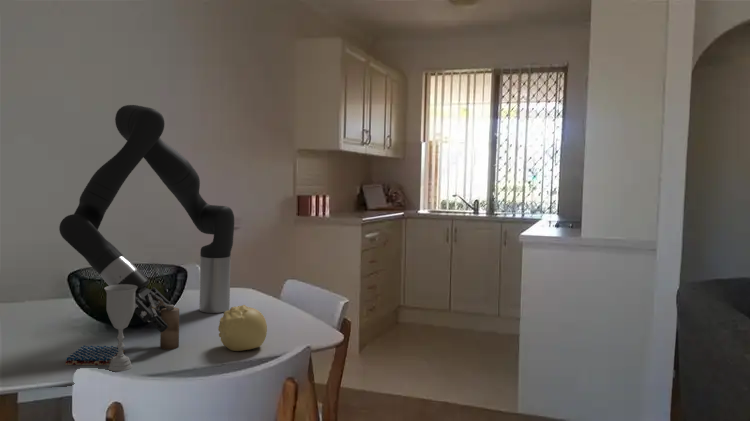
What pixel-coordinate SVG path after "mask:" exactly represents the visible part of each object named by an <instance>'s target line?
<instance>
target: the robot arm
mask: <svg viewBox="0 0 750 421" xmlns="http://www.w3.org/2000/svg"><path fill="white" fill-rule="evenodd" d="M114 122H115V127H116V130H117V131H118V133H119V134H120V135H121V136H122V137H123V139H124V140H126V142H125V144H124V145H123V147H121V149H120V150H118V152H117V153H116V154H115V155H114V156H113V157H111V158H110V159H108V160H107V161H106V162H105V163H103V165H101V166H100V167H99V168H98V169H97V170H96V171H95V172H94V174H93V175H92V176H91V178H90V180H89V182H88V183H87V184H86V186H85V188H84V189H83V190H82V192H81V194H80V197H79V200H78V201H79V203H78V206H77V208H76V210H75V211H74V213H73V214H68V215H66V216H65V217H64V218H62V220H61V221H60V222H59V223H60V224H59V226H58V228H59V230H58V231H59V233H60V236H61V237H62V239H63V240H64V241H65V242H66V243H67V244H69V245H70V246H71V247H72V248H73V249H74V250H75V251H77V253H79V254H80V256H82V257H83V258H84V259H85V260H86V261H87V263H88V264H89V265H90V266H91V267H92V268H93V270H94V271H96V273H97V274H99V275H100V276H101V278H102V279H103V281H104V282H105V283H106V284H107V285H108V286H111V285H120V284H129V285H136V286H138V287H137V289H136V291H135V310H134V313H135V314H136V315H137V317H139V319H141V321H142V322H143V323H147V322H148V323H151V324H152V325H153V326H154V327H155V328H156V329H157V330H158V331H159V332H164V331H165V330H166V329H167V328H168V325H167V324H166V323H165V322H164V321H163V320H162V319H161V316H160V315H158V313H157V312H159V313H161V309H163V308H166V305H171V302H170V301H169V300H168V299H167V298H166V297H165V296H164V295H163V294H162V293H161V292H160V291H159V290H158V289H157V288H156V287H155V286H154V287H152V288H151V289H149V288H148V287H147V286H148V285H149V284H150V279H149V278H147V276H146V275H145V274H144V273H142V271H141V270H139V269H138V268H137V267H136V265H135V264H134V263H133V262H132V261H131V260H129V259H128V258H127V257H126V256H124V255H123V253H122V252H121V251H119V250H118V248H116V246H115V245H114V244H112V243H111V242H110V241H109V240H107V238H105V237H104V236H103V234H102V233H100V231H99V228H100V226H101V223H102V221H103V219H104V216H105V214H106V212H107V210H108V209H109V207H110V206H111V204H112V203H113V201H114V199H115V198H116V196H117V194H118V193H119V191H120V189H121V187H122V186H123V184H124V183H125V181H126V180H127V178H128V177H129V176H130V174H131V173H132V172H133V171H134V169H135V168H136V167H137V166H138V165H139V163H140V162H141V161H142V159H143V158H144V160H145V161H146V162H147V164H148V165H149V166H150V167H151V169H152V170H153V171H154V173H155V174H156V175H157V176H158V178H159V179H160V181H162V184H164V185H165V186H166V188H167V189H168V190H169V191H170V192H171V194H173V196H174V197H175V198H176V200H177V201H178V202H179V203H180V204H181V206H182V207H183V209H184V210H185V212H186V213H187V215H188V216H189V218H190V219H191V221H192V222H193V224H194V225H195V227H196V228H197V229H198V231H199V232H201V233H203V234H206V235H213V240H212V241H211V243H209V244H207V245H204V246H202V247H200V255H199V256H200V258H199V259H200V261H199V264H200V265H199V266H200V267H199V268H200V269H199V311H200V312H202V313H207V314H210V313H211V314H217V313H218V314H219V313H224V312H225V311H228V310H230V300H231V298H230V296H231V256H232V255H231V254H232V253H231V252H232V249H233V244H234V234H235V231H234V230H235V214H234V212H233V209H232V208H231V207H229V206H226V205H215V204H214V205H213V204H209V203H207V201H205V199H204V198H203V196H202V195H201V194H200V186H201V185H200V184H201V180H200V176H199V174H198V172H197V171H196V169H195V168H194V167H193V165H192V164H191V163H190V162H189V160H188V159H187V158H186V157H185V156H184V155H182V154H181V153H180V152H179V151H178V150H176V148H174V147H172V146H171V145H169V144H168V143H167V142H166V141H164V140H163V139H162V138H161V136H162V135H163V132H164V129H165V119H164V117H163V115H162V113H161V112H160V110H157V109H156V108H155V109H154V108H151V107H148V106H142V105H137V104H128V105H127V104H125V105H123V106H121V107H120V108H119V109H118V110H117V111H116V113H115V118H114Z"/></svg>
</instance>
